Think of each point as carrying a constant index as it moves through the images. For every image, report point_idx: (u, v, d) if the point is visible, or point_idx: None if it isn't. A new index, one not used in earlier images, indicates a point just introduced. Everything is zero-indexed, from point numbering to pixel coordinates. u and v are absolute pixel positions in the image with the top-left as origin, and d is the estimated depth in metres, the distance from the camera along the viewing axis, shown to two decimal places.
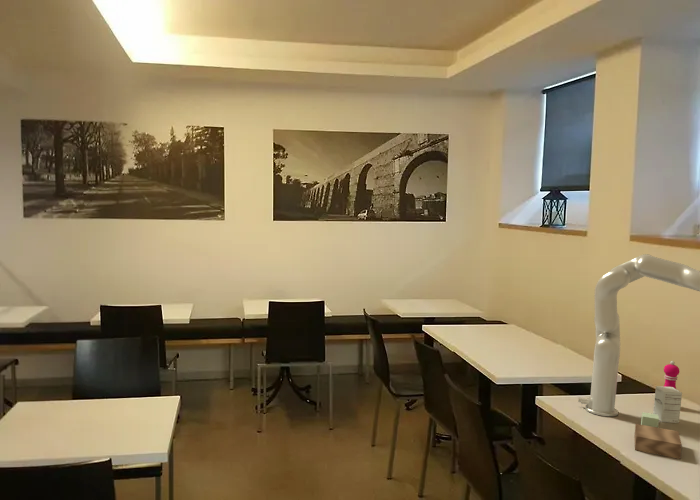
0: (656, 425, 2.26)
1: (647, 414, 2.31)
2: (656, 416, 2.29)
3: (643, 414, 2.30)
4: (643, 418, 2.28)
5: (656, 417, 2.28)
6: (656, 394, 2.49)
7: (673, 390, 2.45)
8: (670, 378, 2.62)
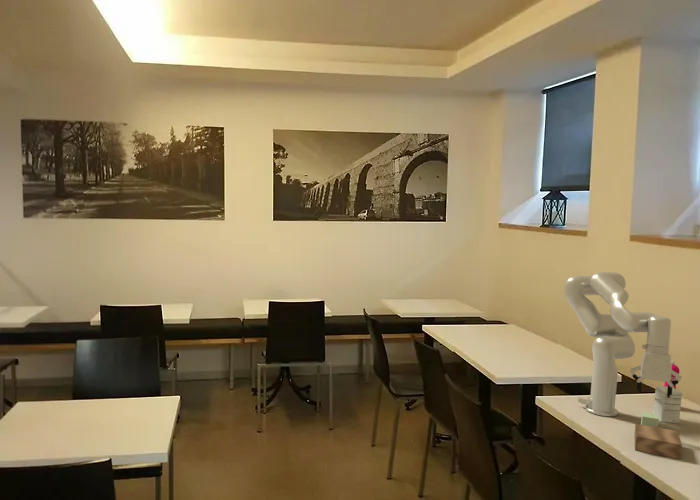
0: (656, 425, 2.26)
1: (647, 414, 2.30)
2: (656, 416, 2.29)
3: (643, 414, 2.30)
4: (643, 418, 2.28)
5: (656, 417, 2.28)
6: (656, 394, 2.49)
7: (673, 390, 2.45)
8: None
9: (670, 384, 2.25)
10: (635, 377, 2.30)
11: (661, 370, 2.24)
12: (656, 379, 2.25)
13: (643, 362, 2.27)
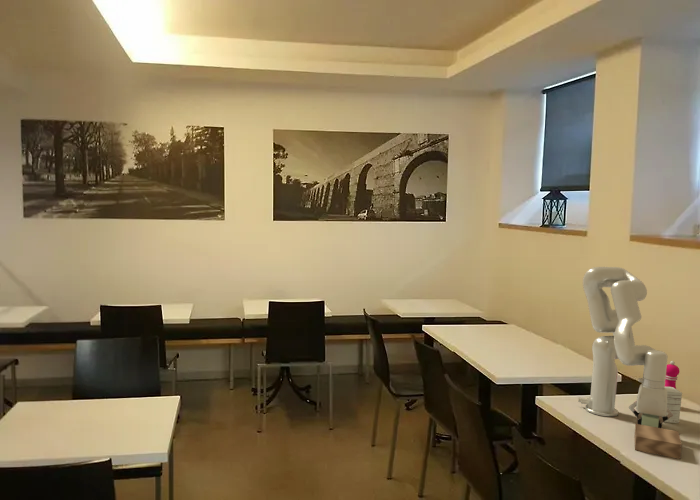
0: (656, 425, 2.26)
1: (647, 414, 2.30)
2: (656, 416, 2.29)
3: (643, 414, 2.30)
4: (643, 418, 2.28)
5: (656, 417, 2.28)
6: None
7: (673, 390, 2.45)
8: (670, 378, 2.62)
9: (660, 420, 2.27)
10: (636, 413, 2.31)
11: (657, 404, 2.26)
12: (652, 413, 2.27)
13: (639, 396, 2.28)
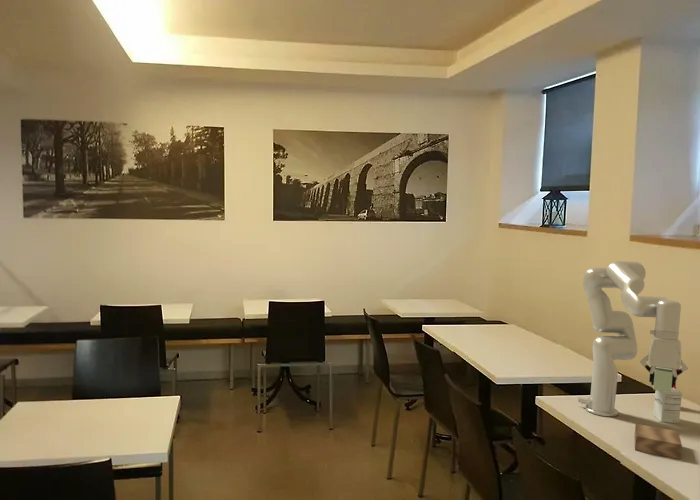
0: (670, 379, 2.13)
1: (660, 368, 2.17)
2: (669, 370, 2.15)
3: (655, 368, 2.17)
4: (656, 372, 2.14)
5: (669, 371, 2.14)
6: (656, 394, 2.49)
7: (673, 390, 2.45)
8: None
9: (674, 374, 2.14)
10: (648, 368, 2.17)
11: (670, 357, 2.12)
12: (665, 366, 2.13)
13: (651, 349, 2.15)
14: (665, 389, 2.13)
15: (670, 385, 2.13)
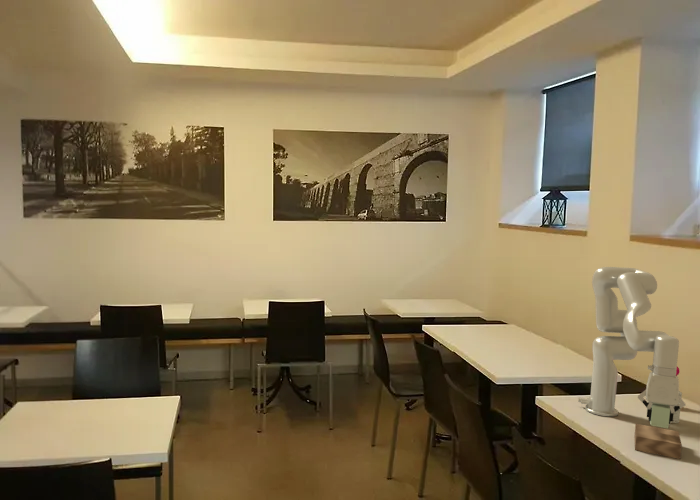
0: (667, 415, 2.12)
1: (657, 404, 2.16)
2: (667, 406, 2.14)
3: (653, 404, 2.16)
4: (653, 408, 2.13)
5: (667, 407, 2.13)
6: None
7: None
8: None
9: (671, 410, 2.13)
10: (645, 403, 2.16)
11: (668, 393, 2.11)
12: (662, 402, 2.12)
13: (649, 385, 2.14)
14: (662, 425, 2.13)
15: (667, 421, 2.12)
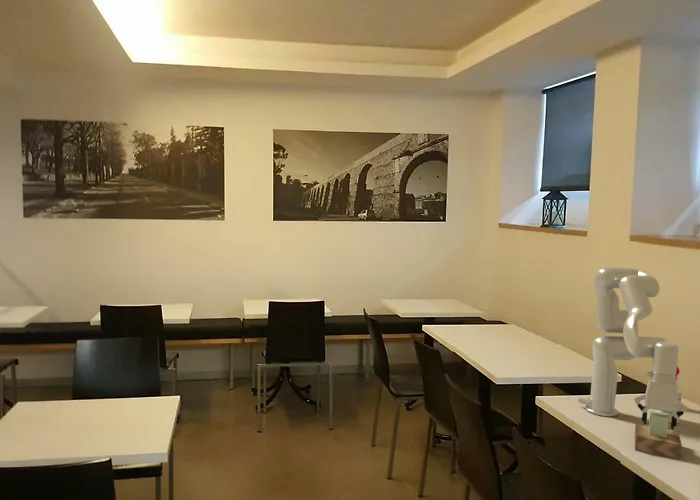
0: (666, 425, 2.12)
1: (656, 413, 2.17)
2: (665, 415, 2.15)
3: (651, 413, 2.16)
4: (652, 417, 2.14)
5: (665, 416, 2.14)
6: None
7: None
8: None
9: (675, 415, 2.12)
10: (640, 407, 2.17)
11: (667, 400, 2.12)
12: (661, 409, 2.13)
13: (648, 391, 2.14)
14: (661, 434, 2.13)
15: (666, 431, 2.12)
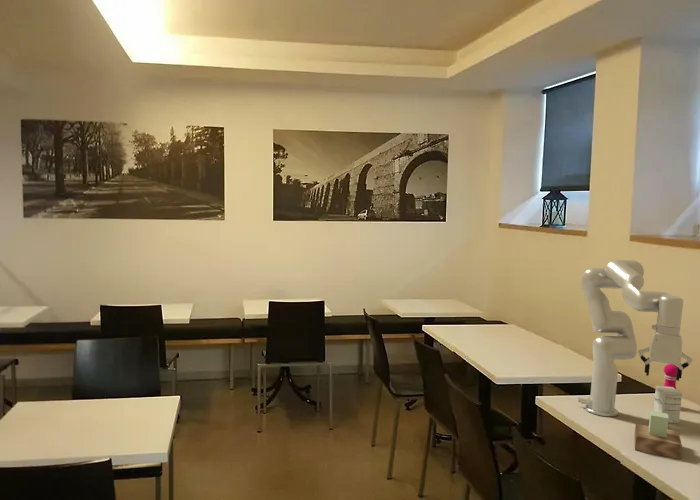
0: (666, 425, 2.12)
1: (656, 413, 2.17)
2: (665, 415, 2.15)
3: (651, 413, 2.16)
4: (652, 417, 2.14)
5: (665, 416, 2.14)
6: (656, 394, 2.49)
7: (673, 390, 2.45)
8: (670, 378, 2.62)
9: (680, 367, 2.14)
10: (643, 359, 2.19)
11: (671, 352, 2.14)
12: (665, 361, 2.15)
13: (652, 344, 2.16)
14: (661, 434, 2.13)
15: (666, 431, 2.12)
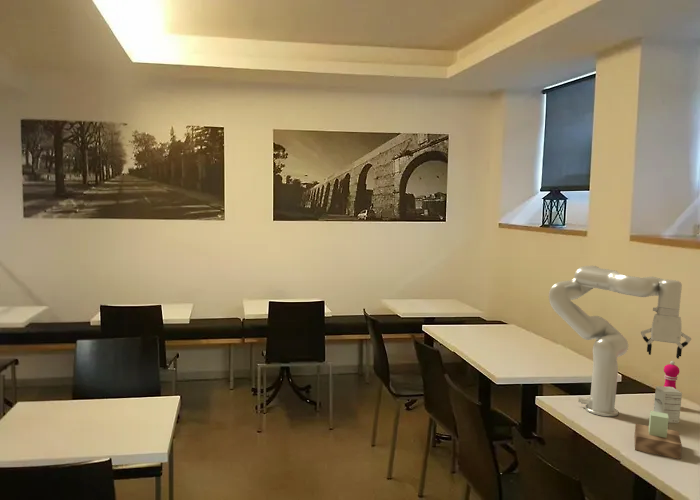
0: (666, 425, 2.12)
1: (656, 413, 2.17)
2: (665, 415, 2.15)
3: (651, 413, 2.16)
4: (652, 417, 2.14)
5: (665, 416, 2.14)
6: (656, 394, 2.49)
7: (673, 390, 2.45)
8: (670, 378, 2.62)
9: (680, 345, 2.31)
10: (645, 339, 2.36)
11: (671, 332, 2.31)
12: (666, 340, 2.31)
13: (654, 324, 2.33)
14: (661, 434, 2.13)
15: (666, 431, 2.12)
